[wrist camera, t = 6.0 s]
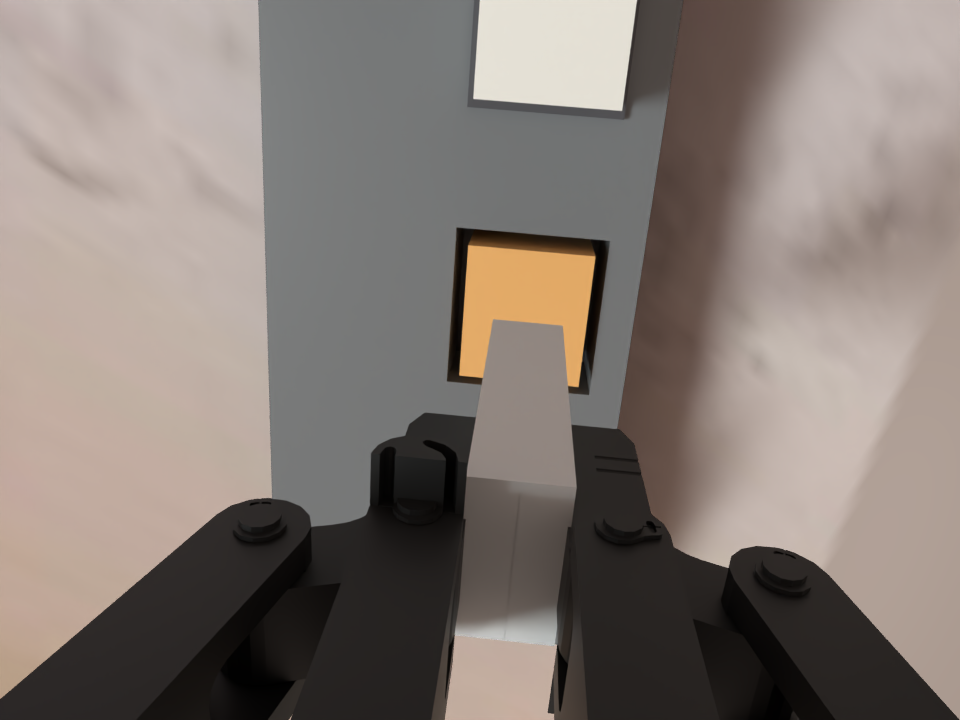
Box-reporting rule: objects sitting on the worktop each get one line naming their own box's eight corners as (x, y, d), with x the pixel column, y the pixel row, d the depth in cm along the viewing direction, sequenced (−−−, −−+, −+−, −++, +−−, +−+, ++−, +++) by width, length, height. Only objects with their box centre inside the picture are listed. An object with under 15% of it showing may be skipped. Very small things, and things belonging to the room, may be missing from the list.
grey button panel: (300, -142, 22) (218, -215, 17) (678, -116, 22) (728, -182, 16) (307, 548, 31) (254, 658, 25) (577, 576, 31) (587, 695, 25)
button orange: (476, 223, 25) (468, 245, 22) (588, 233, 24) (595, 256, 22) (468, 340, 26) (459, 375, 23) (573, 350, 26) (578, 386, 23)
